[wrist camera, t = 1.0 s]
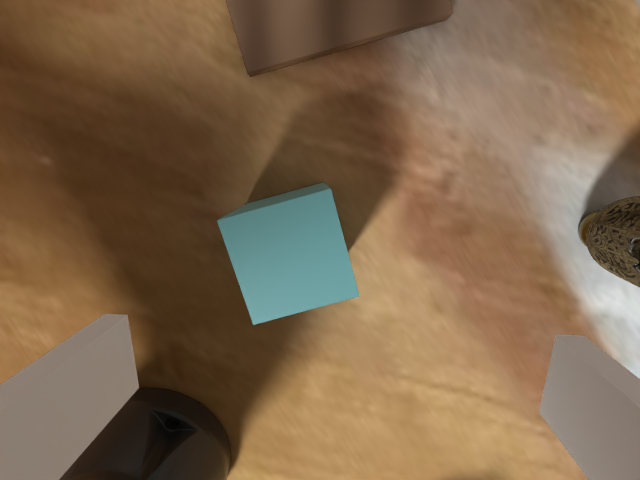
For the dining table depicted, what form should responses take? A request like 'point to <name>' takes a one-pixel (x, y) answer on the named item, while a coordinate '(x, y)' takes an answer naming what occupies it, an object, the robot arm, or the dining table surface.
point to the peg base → (321, 26)
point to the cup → (615, 238)
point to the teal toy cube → (289, 253)
